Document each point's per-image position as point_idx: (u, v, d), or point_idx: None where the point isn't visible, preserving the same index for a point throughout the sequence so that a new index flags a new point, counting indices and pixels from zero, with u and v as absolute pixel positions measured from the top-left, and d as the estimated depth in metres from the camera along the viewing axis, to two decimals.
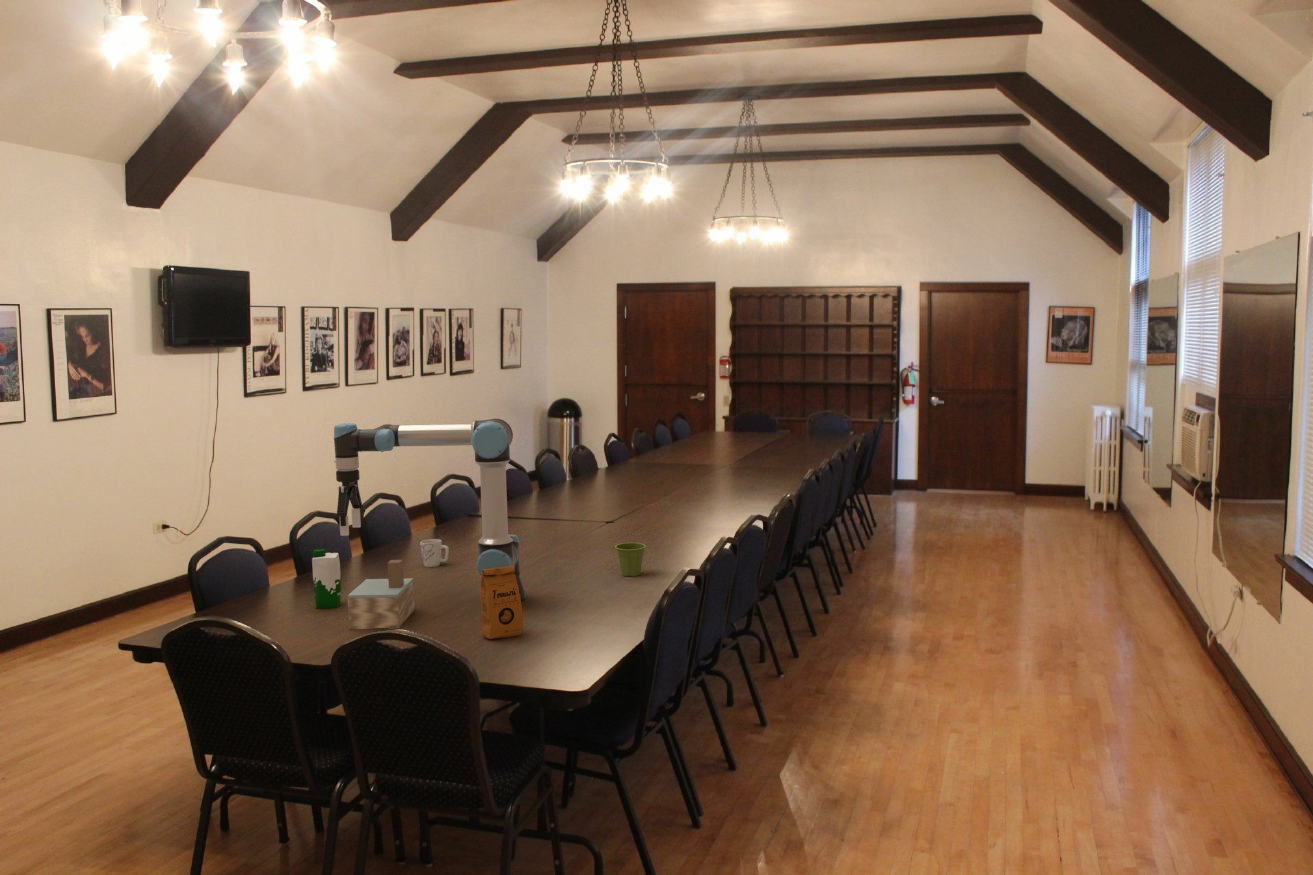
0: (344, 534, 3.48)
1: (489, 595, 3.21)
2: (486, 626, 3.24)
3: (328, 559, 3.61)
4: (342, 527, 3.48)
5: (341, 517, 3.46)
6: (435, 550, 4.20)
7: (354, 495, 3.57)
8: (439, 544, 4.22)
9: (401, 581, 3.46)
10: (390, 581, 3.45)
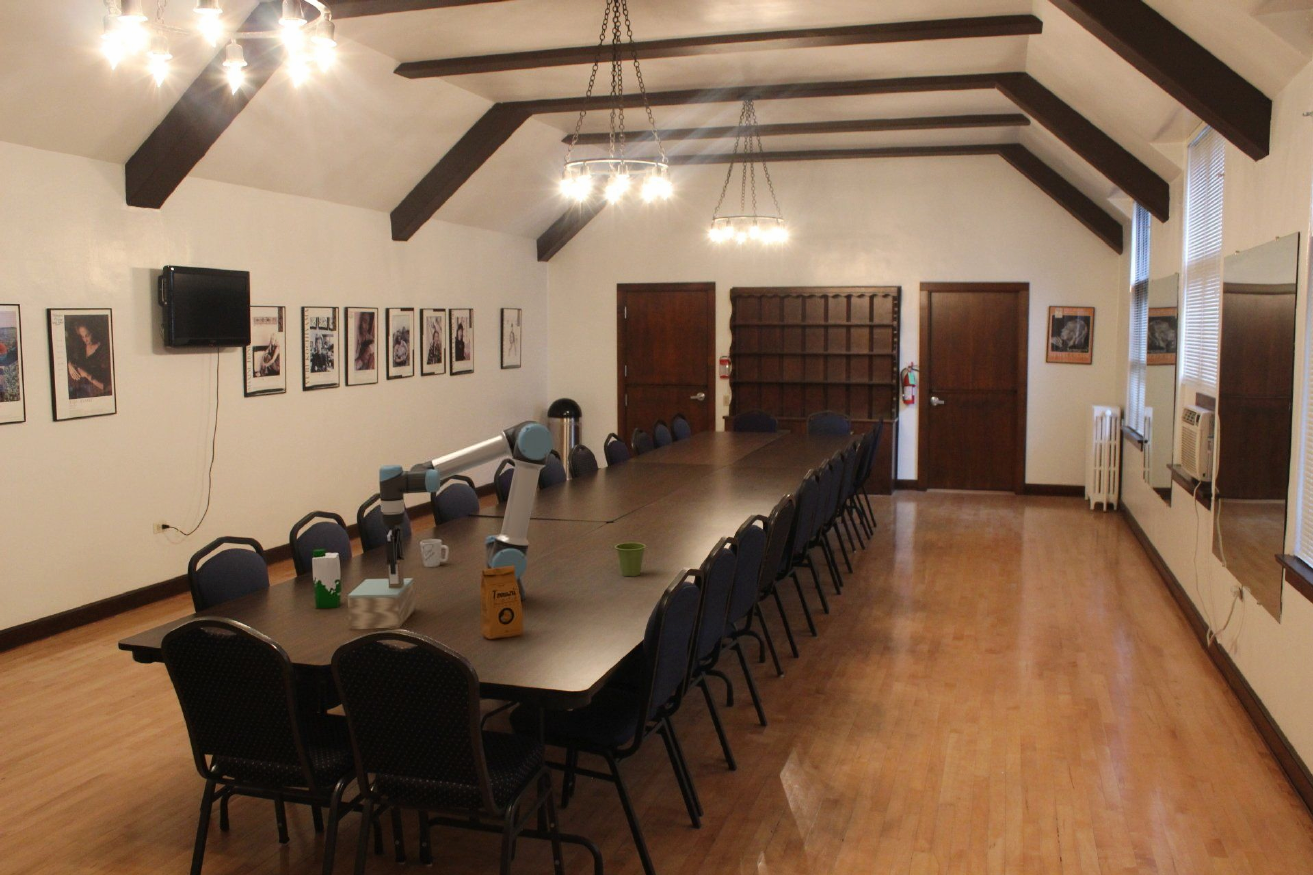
0: (394, 582, 3.44)
1: (489, 595, 3.21)
2: (486, 626, 3.24)
3: (328, 559, 3.61)
4: (392, 575, 3.44)
5: (391, 565, 3.43)
6: (435, 550, 4.20)
7: (398, 540, 3.47)
8: (439, 544, 4.22)
9: (401, 581, 3.46)
10: None
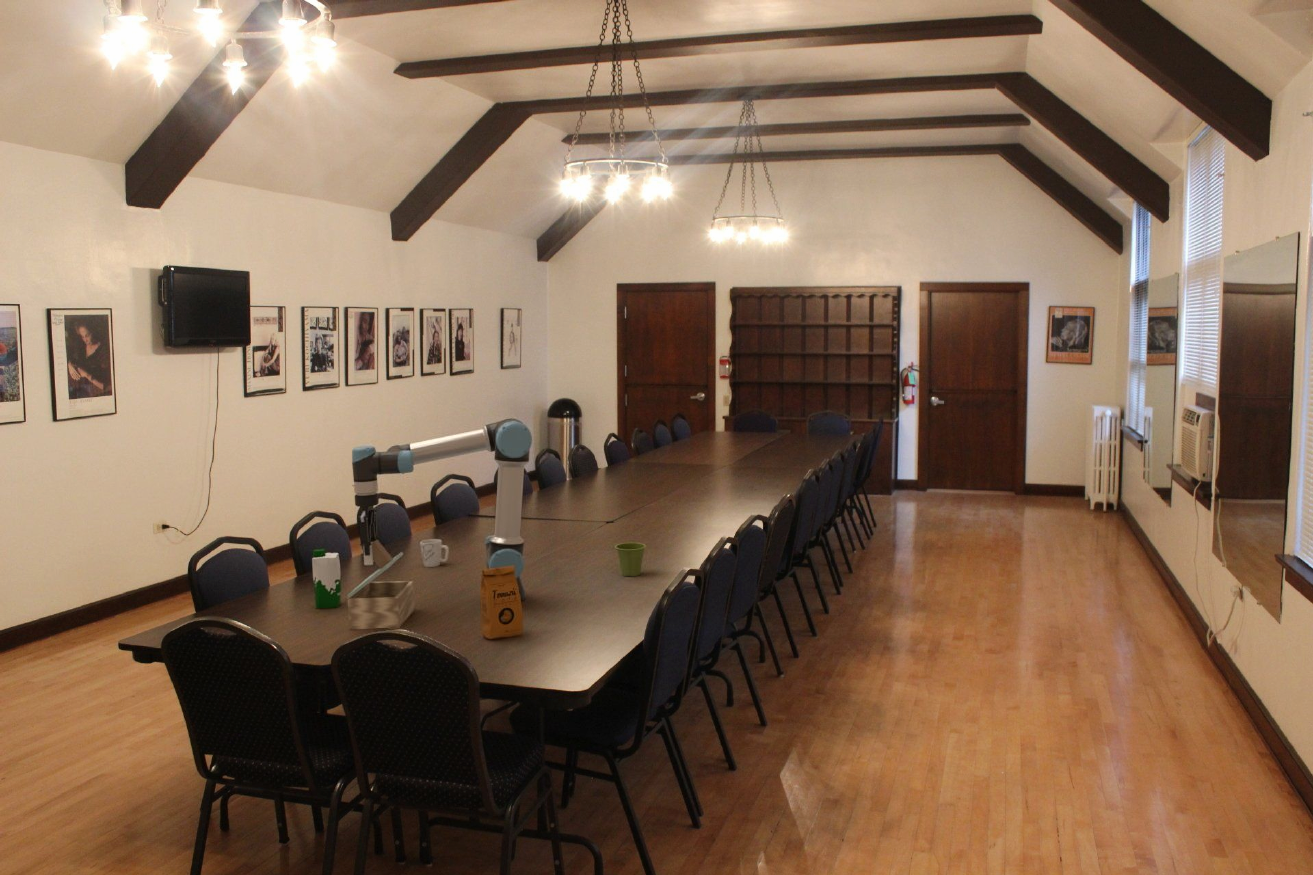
0: (368, 563, 3.44)
1: (489, 595, 3.21)
2: (486, 626, 3.24)
3: (328, 559, 3.61)
4: (366, 556, 3.43)
5: (365, 546, 3.42)
6: (435, 550, 4.20)
7: (372, 522, 3.46)
8: (439, 544, 4.22)
9: (387, 556, 3.45)
10: (378, 562, 3.44)
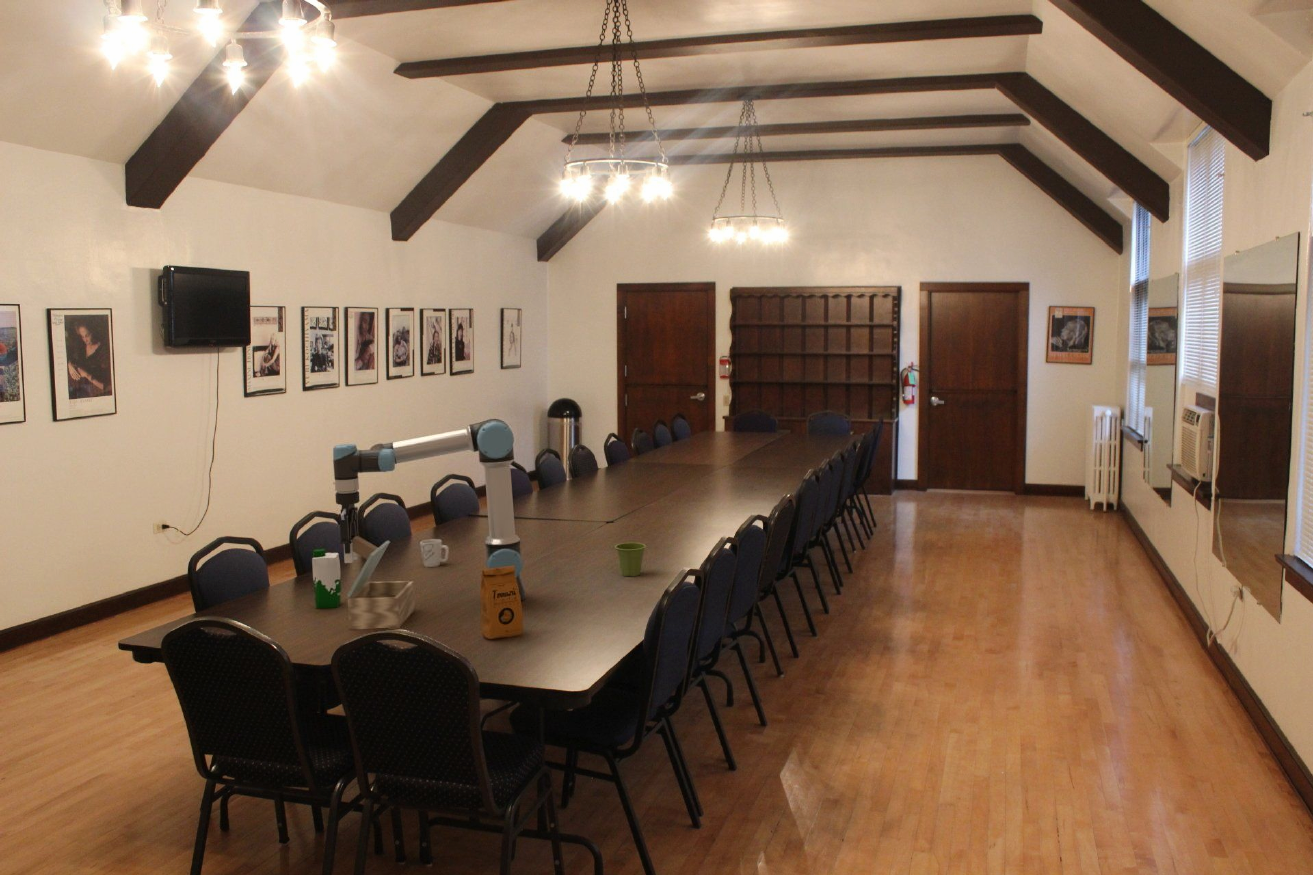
0: (348, 561, 3.44)
1: (489, 595, 3.21)
2: (486, 626, 3.24)
3: (328, 559, 3.61)
4: (346, 554, 3.43)
5: (345, 544, 3.42)
6: (435, 550, 4.20)
7: (353, 520, 3.46)
8: (439, 544, 4.22)
9: (372, 547, 3.45)
10: (365, 556, 3.44)
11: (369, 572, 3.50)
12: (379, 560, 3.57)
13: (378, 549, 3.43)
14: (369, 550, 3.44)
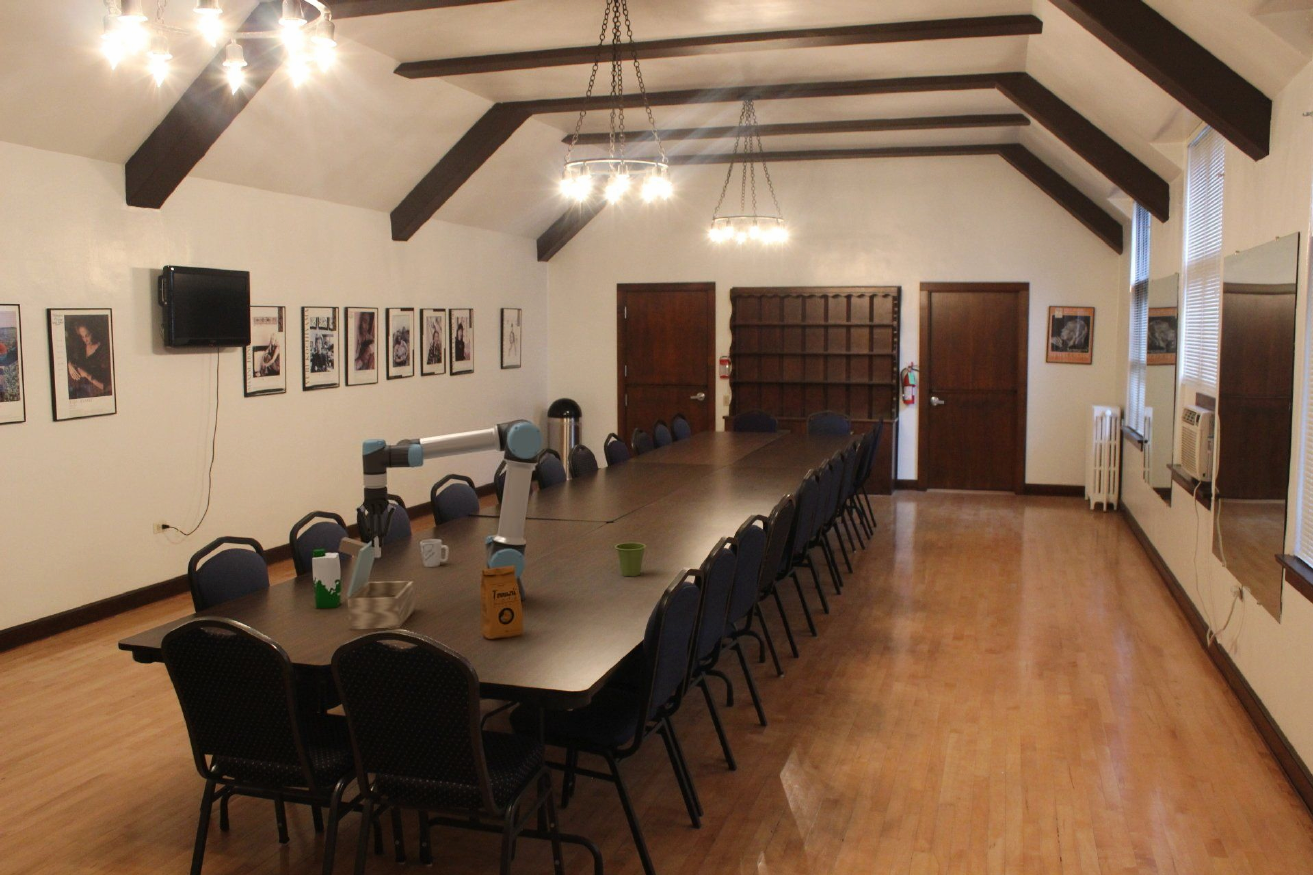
0: None
1: (489, 595, 3.21)
2: (486, 626, 3.24)
3: (328, 559, 3.61)
4: None
5: None
6: (435, 550, 4.20)
7: None
8: (439, 544, 4.22)
9: (361, 544, 3.45)
10: (357, 554, 3.44)
11: (365, 570, 3.50)
12: None
13: (368, 545, 3.43)
14: (359, 548, 3.44)
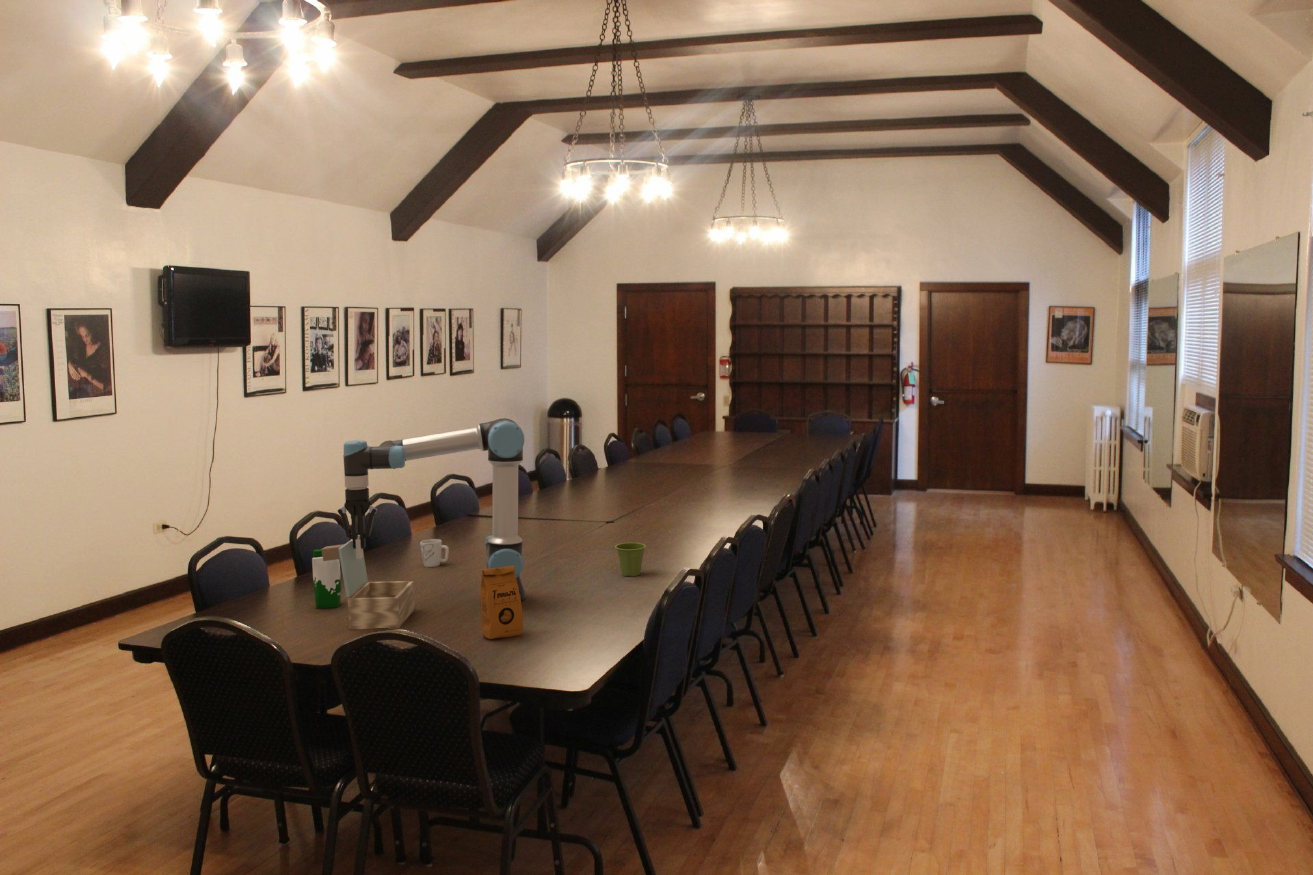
0: None
1: (489, 595, 3.21)
2: (486, 626, 3.24)
3: None
4: None
5: None
6: (435, 550, 4.20)
7: None
8: (439, 544, 4.22)
9: (342, 545, 3.45)
10: None
11: (358, 569, 3.50)
12: (363, 556, 3.57)
13: (347, 543, 3.43)
14: None
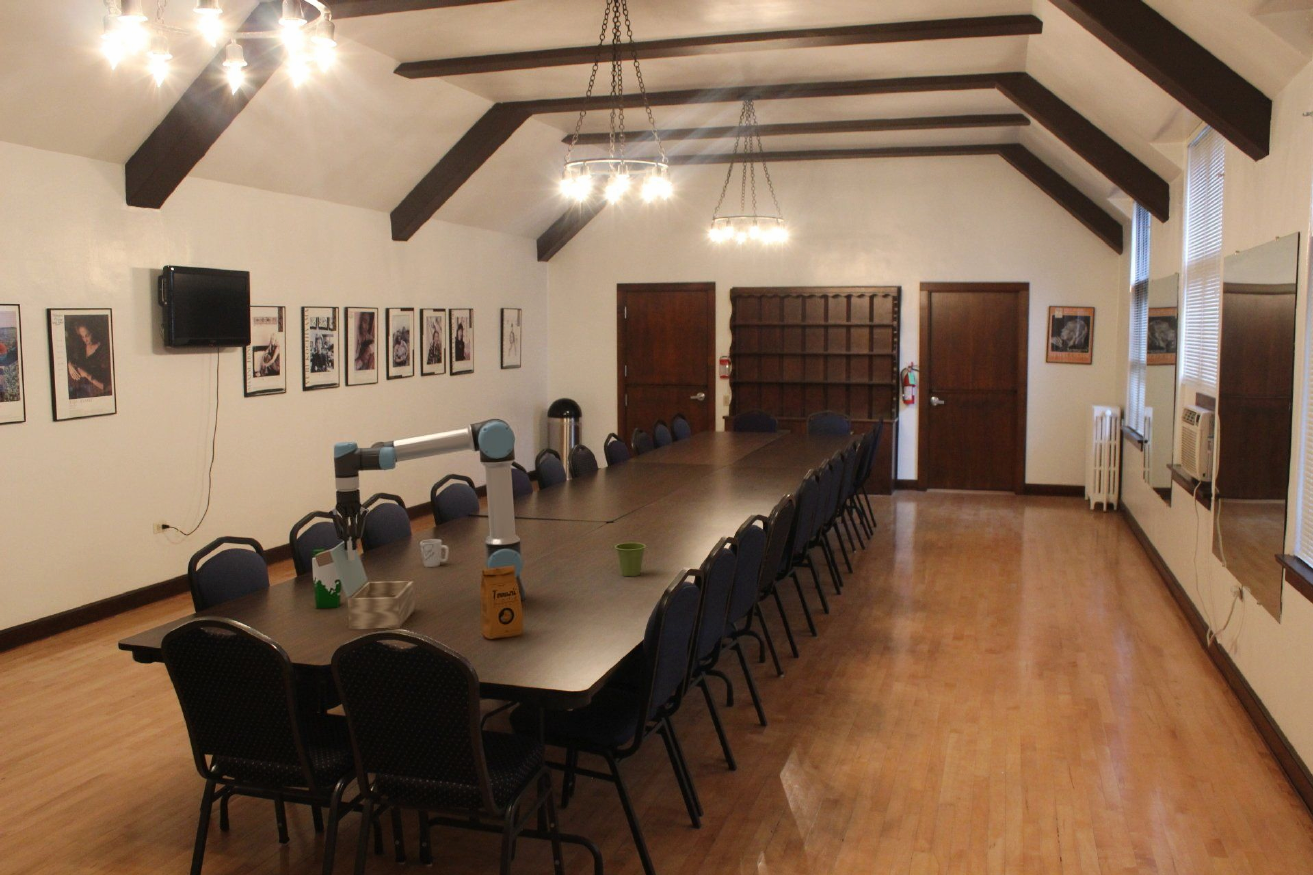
0: None
1: (489, 595, 3.21)
2: (486, 626, 3.24)
3: None
4: None
5: None
6: (435, 550, 4.20)
7: None
8: (439, 544, 4.22)
9: None
10: None
11: (355, 569, 3.50)
12: (359, 557, 3.57)
13: (338, 545, 3.43)
14: None
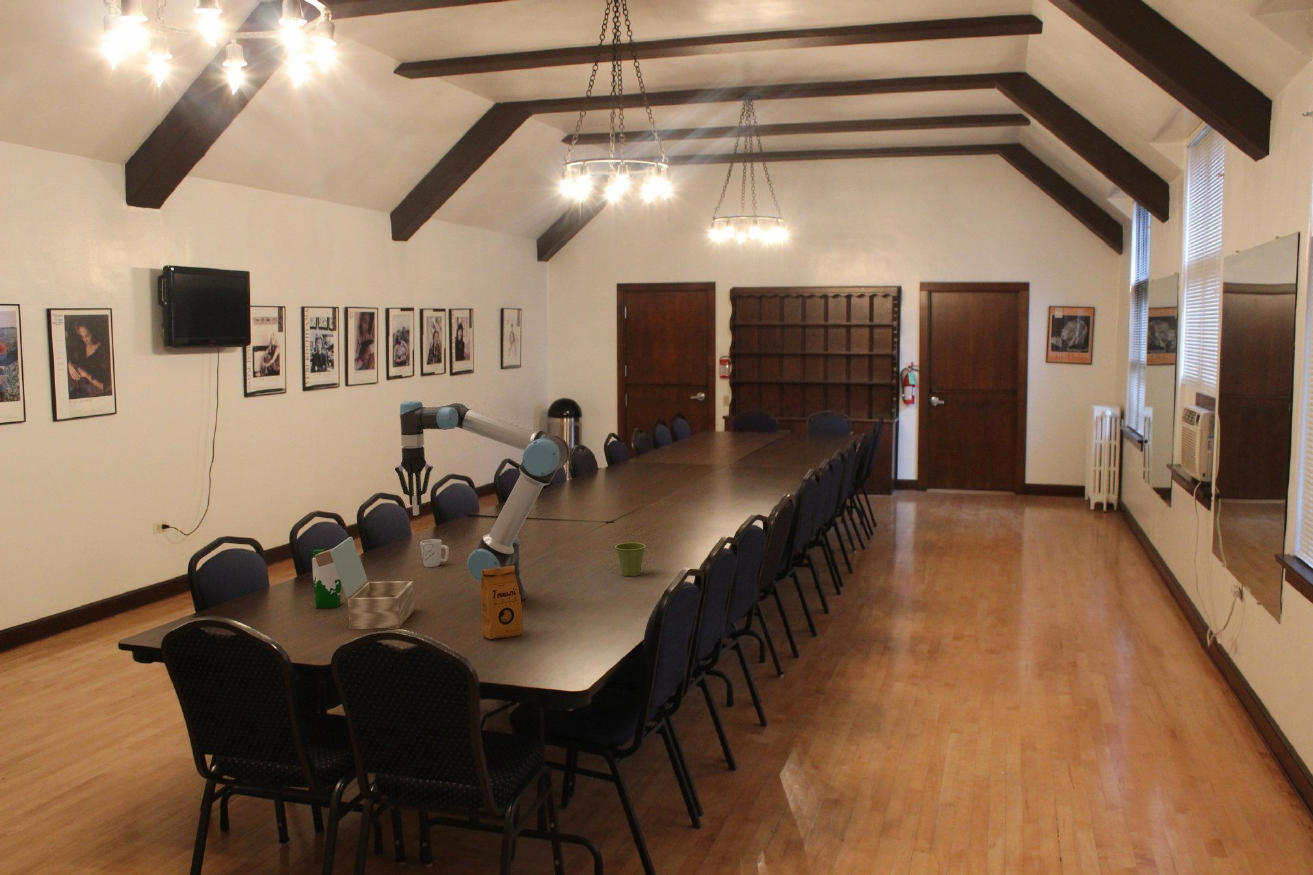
0: None
1: (489, 595, 3.21)
2: (486, 626, 3.24)
3: None
4: None
5: None
6: (435, 550, 4.20)
7: None
8: (439, 544, 4.22)
9: None
10: None
11: (355, 569, 3.50)
12: (359, 557, 3.57)
13: (338, 545, 3.43)
14: None
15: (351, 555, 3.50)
